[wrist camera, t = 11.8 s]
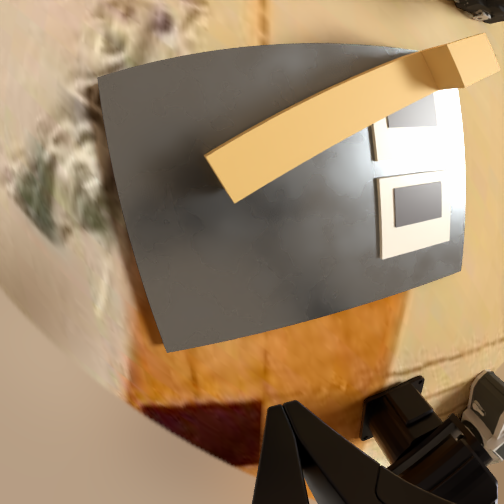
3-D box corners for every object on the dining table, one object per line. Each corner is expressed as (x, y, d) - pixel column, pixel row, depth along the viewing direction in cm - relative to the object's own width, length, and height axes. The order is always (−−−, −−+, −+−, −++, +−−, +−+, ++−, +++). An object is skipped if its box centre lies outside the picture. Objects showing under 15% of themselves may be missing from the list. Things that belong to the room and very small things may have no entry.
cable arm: (432, 45, 14) (485, 32, 10) (445, 75, 15) (500, 70, 11) (203, 155, 15) (208, 158, 10) (227, 193, 15) (242, 213, 11)
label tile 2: (446, 154, 17) (450, 154, 17) (374, 161, 17) (378, 161, 16) (437, 81, 16) (441, 80, 15) (363, 76, 15) (366, 75, 15)
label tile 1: (446, 239, 20) (450, 240, 19) (380, 257, 19) (383, 260, 18) (447, 169, 18) (450, 169, 17) (376, 178, 17) (380, 179, 17)
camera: (444, 399, 28) (492, 454, 19) (494, 358, 29) (544, 402, 19) (438, 452, 34) (470, 495, 25) (480, 420, 34) (514, 458, 25)
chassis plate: (453, 266, 22) (461, 270, 21) (167, 343, 19) (167, 352, 18) (442, 58, 16) (451, 56, 15) (102, 81, 14) (97, 77, 13)
